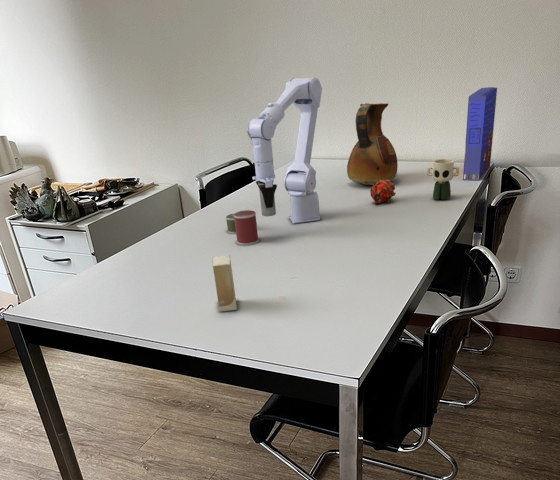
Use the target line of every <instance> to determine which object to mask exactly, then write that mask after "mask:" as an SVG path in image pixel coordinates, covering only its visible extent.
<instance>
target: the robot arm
mask: <svg viewBox="0 0 560 480" xmlns="http://www.w3.org/2000/svg"><path fill="white" fill-rule="evenodd" d="M322 93H323V87H322V84H321V82H320V80H319V78H318V77H316V76H314V77H301V78H300V77H299V78H297V77H296V78H295V77H291V78H289V79H288V81H287V82H286V83H285V89H284V91H282V94H281V95H280V96H279V98H278V99H277V100H276V102H273V101H272V102H269V103H267V105H266V107H265V109H264V110H262V112H260V113H259V115H258V116H257V118H252V119H251V120H250V121H249V122H248V124H247V130H246V134H247V136H248V138H249V140H250V145H251V146H252V151H253V162H254V169H255V176H252V180H253V181H255V184H256V185H257V187H258V190H259V189H260V190H261V193H262V195H263V199H264V203H265V206H266V208H272V207H273V202H274V197H275V194H276V190H277V188H278V185H277V183H275V184H274V181H275V178H276V174H275V165H274V156H273V145H272V144H273V143H272V139H273V137H274V136H275V131H276V129H277V126H278V125H279V124H280V122H281V121H282V120H283V119H284V118H285V111H286V110H287V109H288V108H290V106H291V105H292V104H293V105H294V106H295V107H296V108H297V109H299V112H300V116H299V117H300V118H299V124H298V133H297V140H296V145H295V152H294V153H295V154H294V161H293V163H291V164H290V165H289V166H288V167H287V169H286V174H285V176H284V178H283V187H284V190H285V191H286V192H287V195H289V199H290V211H291V215H289V217H288V218H289V219H290V221H291V223H292V224H294V225H295V224H301V223H309V222H314V221H315V222H316V221H320V220H321V216H320V199H319V195H318V192H317V191H315V189H316V187H317V178H316V175H317V171H316V169H314V167H313V166H312V165H311V160H312V151H313V145H314V139H315V132H316V126H317V118H318V113H319V112H318V111H319V108H320V106H321V98H322ZM260 181H261V182H264V185H259V182H260ZM272 181H273V185H272Z"/></svg>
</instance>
